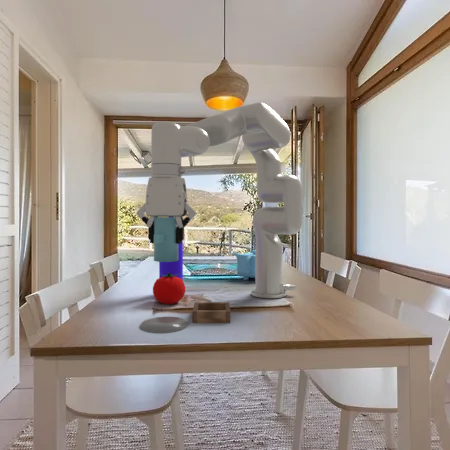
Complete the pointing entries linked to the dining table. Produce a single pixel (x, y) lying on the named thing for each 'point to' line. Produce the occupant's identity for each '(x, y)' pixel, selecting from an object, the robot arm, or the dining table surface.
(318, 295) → the dining table surface
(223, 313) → the cradle
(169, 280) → the tomato
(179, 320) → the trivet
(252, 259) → the light blue cushion
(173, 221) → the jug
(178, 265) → the bottle
